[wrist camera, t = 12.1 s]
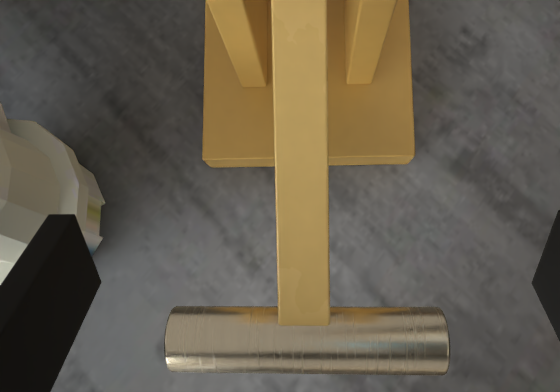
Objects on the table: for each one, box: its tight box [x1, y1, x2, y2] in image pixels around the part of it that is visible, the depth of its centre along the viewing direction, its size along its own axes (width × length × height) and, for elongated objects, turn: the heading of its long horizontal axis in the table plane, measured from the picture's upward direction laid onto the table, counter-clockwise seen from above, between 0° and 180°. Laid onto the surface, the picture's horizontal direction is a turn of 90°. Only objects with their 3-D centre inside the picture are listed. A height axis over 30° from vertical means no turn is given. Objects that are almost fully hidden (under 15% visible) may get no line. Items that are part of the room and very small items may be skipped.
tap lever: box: [164, 0, 450, 376], centre depth 10 cm, size 13×6×2 cm, turn 0°
